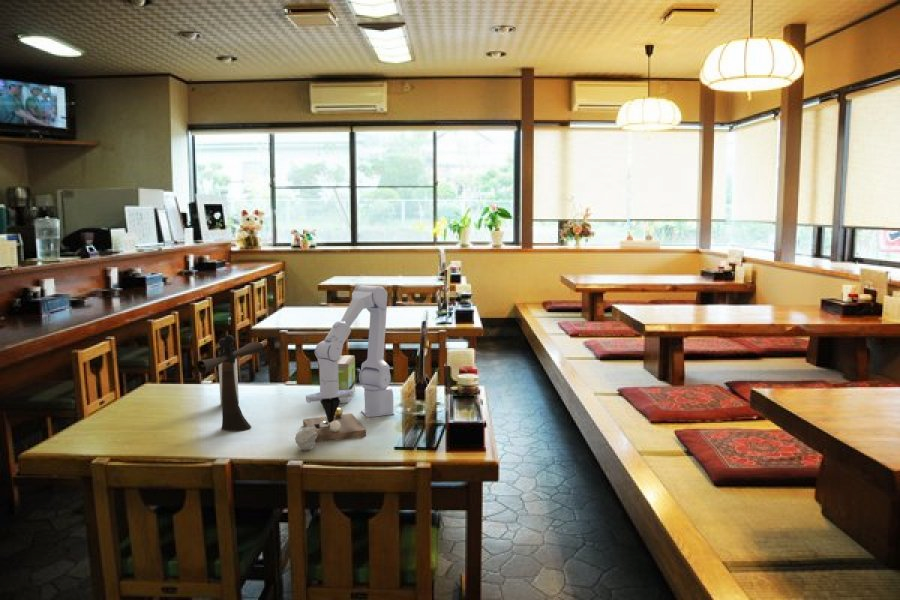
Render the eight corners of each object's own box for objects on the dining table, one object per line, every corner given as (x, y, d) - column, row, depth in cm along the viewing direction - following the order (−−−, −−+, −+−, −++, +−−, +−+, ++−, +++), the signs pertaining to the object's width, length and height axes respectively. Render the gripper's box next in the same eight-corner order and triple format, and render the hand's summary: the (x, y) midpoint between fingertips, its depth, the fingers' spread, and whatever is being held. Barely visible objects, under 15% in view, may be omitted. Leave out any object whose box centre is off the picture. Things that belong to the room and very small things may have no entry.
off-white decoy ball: (339, 429, 204) (339, 418, 203) (342, 432, 200) (341, 421, 200) (328, 430, 202) (328, 419, 202) (331, 433, 199) (330, 423, 199)
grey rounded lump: (308, 455, 187) (307, 431, 186) (290, 451, 191) (289, 427, 190) (323, 449, 192) (322, 425, 191) (305, 444, 196) (304, 422, 195)
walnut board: (351, 419, 220) (351, 413, 219) (366, 435, 203) (366, 429, 203) (303, 425, 214) (303, 419, 213) (313, 443, 197) (313, 436, 197)
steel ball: (321, 434, 206) (329, 432, 208) (323, 426, 205) (332, 424, 207) (316, 428, 208) (325, 426, 210) (318, 420, 207) (327, 418, 209)
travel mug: (243, 403, 238) (240, 348, 236) (228, 408, 233) (225, 352, 230) (231, 400, 242) (229, 347, 239) (216, 405, 236) (213, 350, 233)
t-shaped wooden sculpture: (250, 412, 228) (246, 326, 224) (275, 414, 225) (271, 327, 221) (192, 442, 198) (186, 344, 194) (220, 445, 195) (215, 345, 191)
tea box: (349, 403, 238) (348, 363, 236) (321, 403, 238) (320, 363, 236) (356, 392, 253) (355, 354, 251) (329, 392, 253) (328, 354, 251)
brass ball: (341, 414, 218) (341, 406, 217) (343, 417, 215) (343, 408, 214) (332, 416, 216) (332, 407, 216) (334, 418, 214) (334, 409, 213)
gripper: (347, 373, 212) (348, 414, 214) (302, 379, 206) (304, 421, 208) (354, 378, 206) (355, 420, 208) (308, 384, 200) (310, 427, 202)
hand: (330, 421), depth 208 cm, fingers closed
